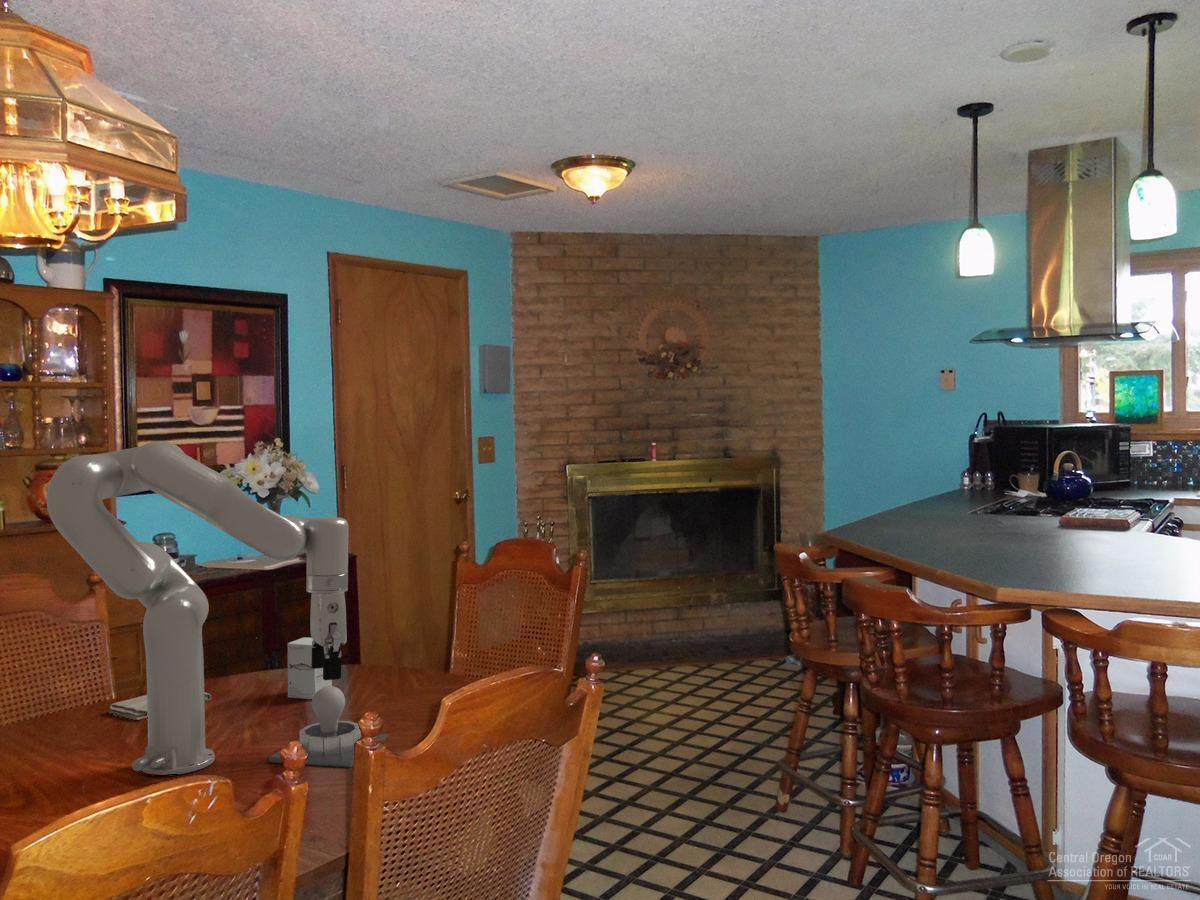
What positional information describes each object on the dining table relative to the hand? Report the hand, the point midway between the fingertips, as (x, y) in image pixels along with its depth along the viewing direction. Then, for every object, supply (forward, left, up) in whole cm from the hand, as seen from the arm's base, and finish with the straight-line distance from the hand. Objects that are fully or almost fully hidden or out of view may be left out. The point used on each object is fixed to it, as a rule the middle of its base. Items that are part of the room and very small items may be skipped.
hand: (325, 673), depth 181 cm
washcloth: (+21, +51, -15) cm, 57 cm away
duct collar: (0, -1, -15) cm, 15 cm away
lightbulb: (0, 0, -14) cm, 14 cm away
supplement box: (+35, +22, -15) cm, 44 cm away
